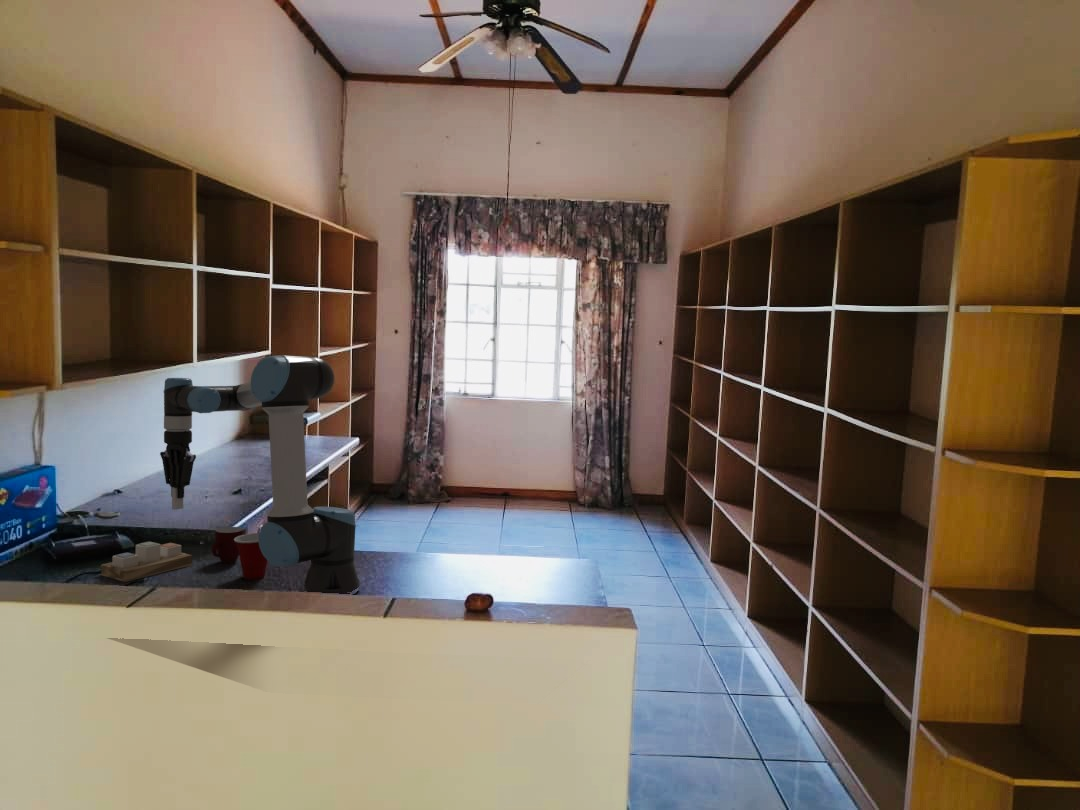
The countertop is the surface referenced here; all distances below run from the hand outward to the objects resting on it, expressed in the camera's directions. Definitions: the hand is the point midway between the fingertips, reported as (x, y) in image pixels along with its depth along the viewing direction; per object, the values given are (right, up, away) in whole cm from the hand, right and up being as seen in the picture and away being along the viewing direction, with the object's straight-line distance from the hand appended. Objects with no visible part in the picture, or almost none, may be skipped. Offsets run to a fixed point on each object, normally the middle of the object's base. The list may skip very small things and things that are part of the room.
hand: (177, 508), depth 228 cm
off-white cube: (-9, -17, -12) cm, 22 cm away
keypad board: (-6, -17, -5) cm, 19 cm away
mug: (+12, -18, +5) cm, 22 cm away
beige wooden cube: (-6, -15, -5) cm, 17 cm away
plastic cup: (+25, -19, -7) cm, 32 cm away
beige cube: (-3, -16, +1) cm, 16 cm away
